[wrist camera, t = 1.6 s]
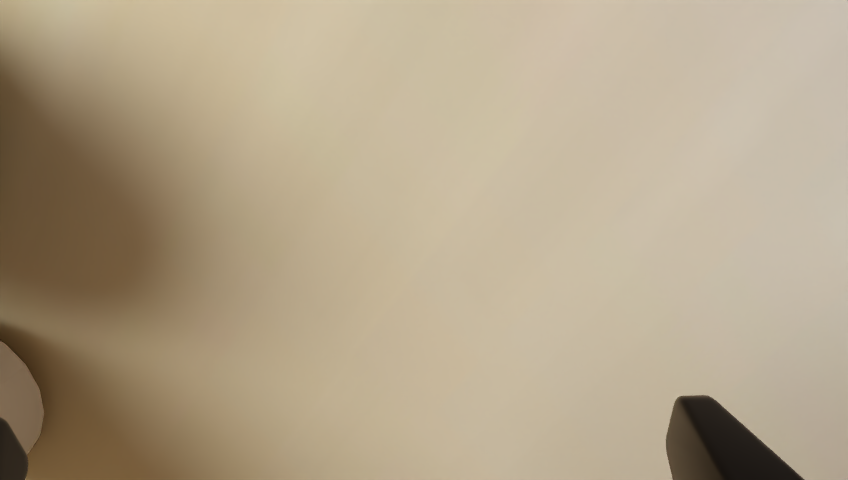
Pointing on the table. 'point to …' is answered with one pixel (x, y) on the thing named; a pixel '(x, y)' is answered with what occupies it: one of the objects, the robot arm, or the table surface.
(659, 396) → the table surface
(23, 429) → the can
